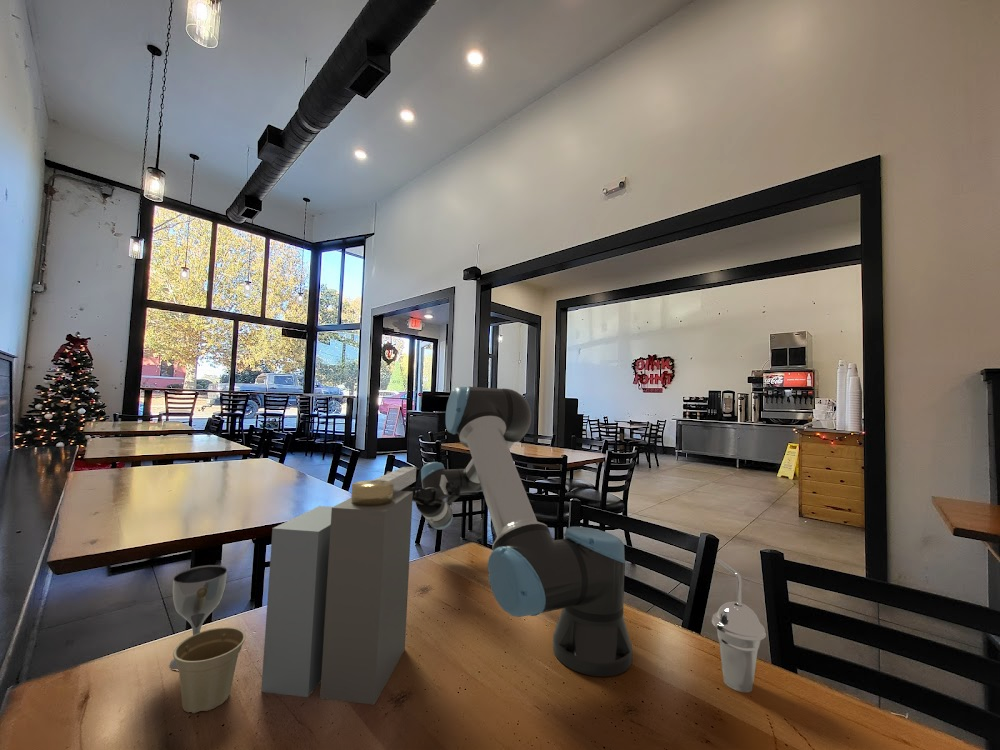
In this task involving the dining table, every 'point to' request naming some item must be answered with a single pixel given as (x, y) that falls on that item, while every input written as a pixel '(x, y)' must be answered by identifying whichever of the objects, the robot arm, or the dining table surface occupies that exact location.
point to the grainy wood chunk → (382, 487)
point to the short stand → (297, 604)
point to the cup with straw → (738, 640)
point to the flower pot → (208, 667)
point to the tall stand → (365, 598)
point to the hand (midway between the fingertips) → (414, 478)
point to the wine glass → (198, 594)
